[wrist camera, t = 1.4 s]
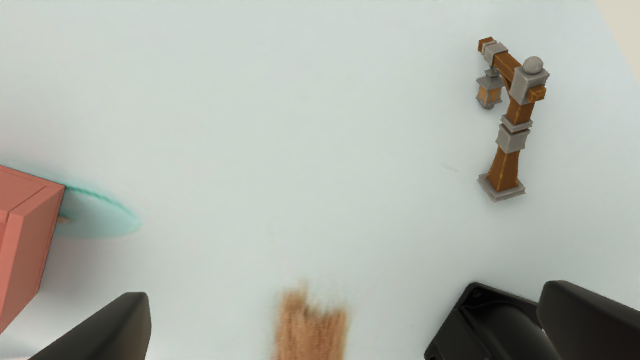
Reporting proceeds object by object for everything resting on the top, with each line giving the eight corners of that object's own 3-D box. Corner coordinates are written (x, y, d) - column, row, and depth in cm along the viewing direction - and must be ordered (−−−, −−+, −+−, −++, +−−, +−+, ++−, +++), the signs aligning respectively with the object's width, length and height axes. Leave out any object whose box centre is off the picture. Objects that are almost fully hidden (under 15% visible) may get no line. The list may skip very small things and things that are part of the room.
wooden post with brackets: (505, 14, 18) (570, 61, 15) (484, 143, 24) (528, 196, 21) (468, 25, 18) (525, 74, 15) (456, 151, 24) (495, 205, 21)
